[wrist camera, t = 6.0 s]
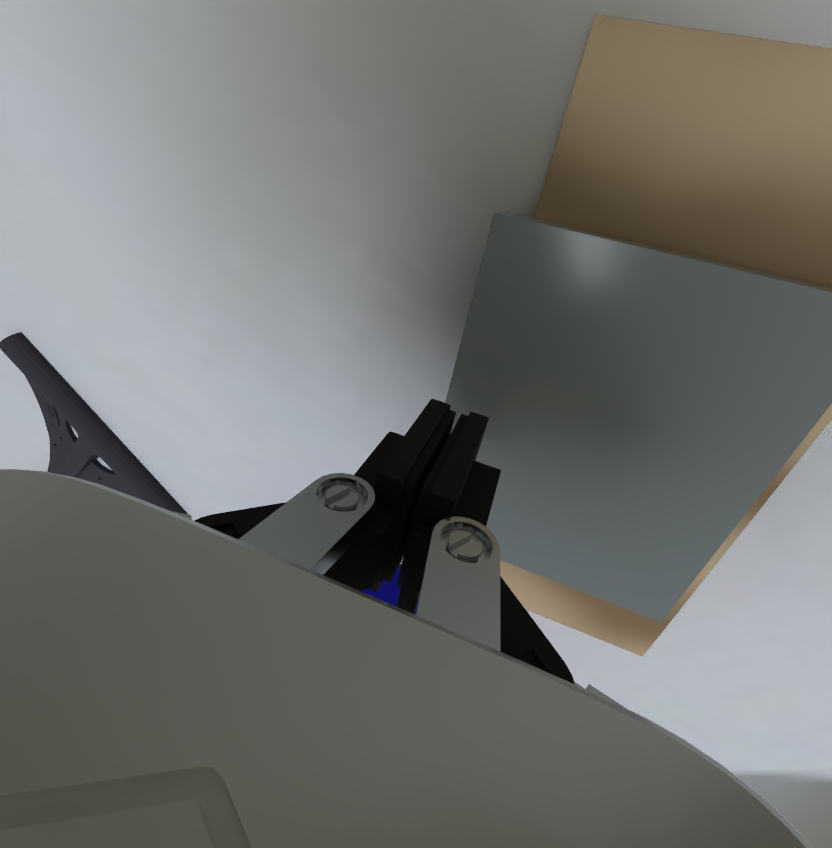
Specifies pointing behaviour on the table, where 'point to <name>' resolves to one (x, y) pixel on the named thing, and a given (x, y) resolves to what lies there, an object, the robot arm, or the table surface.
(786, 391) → the grey rectangular block
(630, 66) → the mat
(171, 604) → the robot arm
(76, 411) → the bracket
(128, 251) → the table surface
